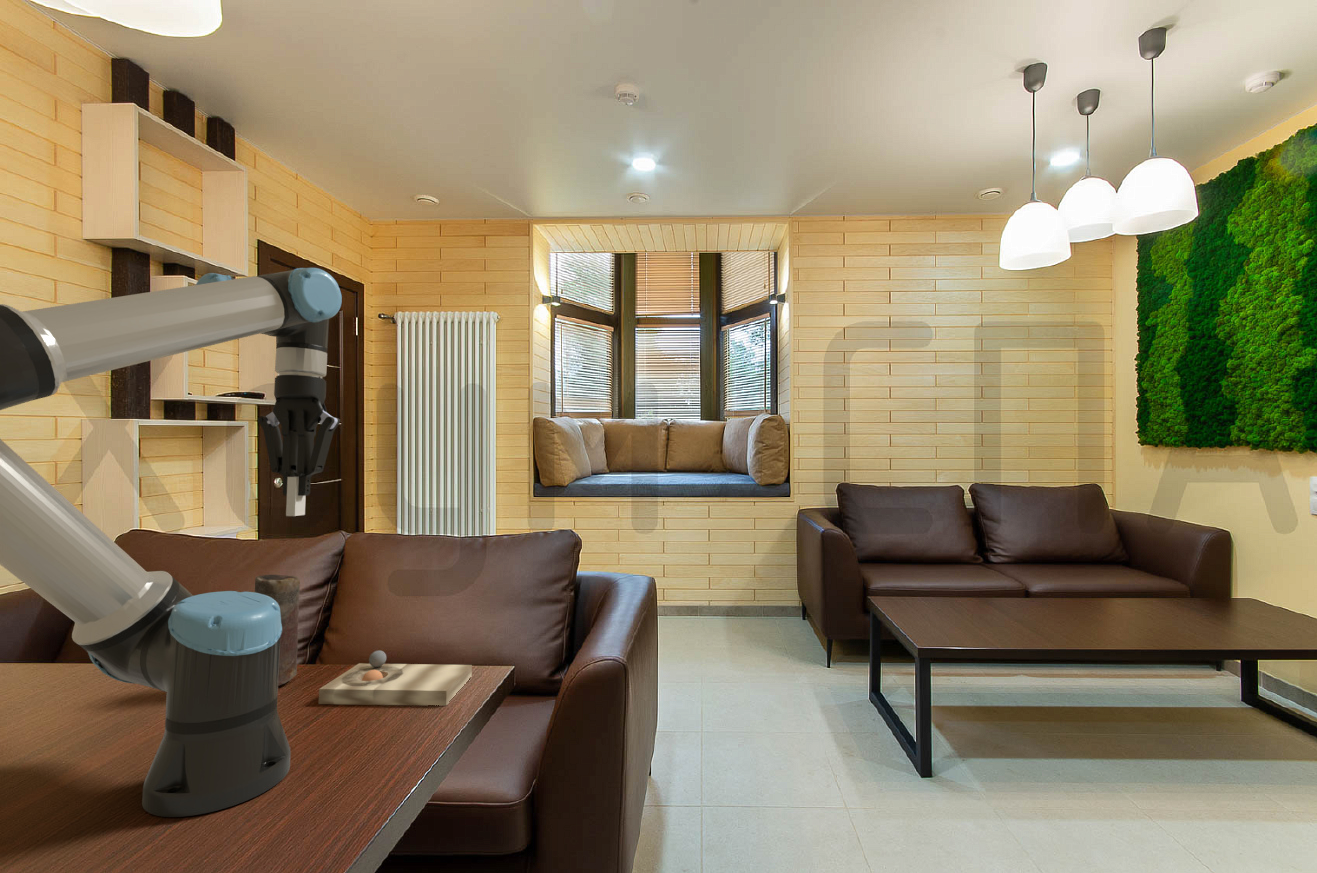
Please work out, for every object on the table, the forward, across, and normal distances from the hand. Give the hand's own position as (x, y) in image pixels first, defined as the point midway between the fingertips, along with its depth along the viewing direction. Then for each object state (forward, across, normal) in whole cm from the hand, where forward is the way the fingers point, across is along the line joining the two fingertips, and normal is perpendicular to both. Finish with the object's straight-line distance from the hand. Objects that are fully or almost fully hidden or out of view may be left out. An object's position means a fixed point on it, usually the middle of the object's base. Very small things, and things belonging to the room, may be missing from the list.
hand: (295, 515), depth 98 cm
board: (+32, -14, -10) cm, 37 cm away
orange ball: (+31, -9, -10) cm, 33 cm away
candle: (+33, +11, -12) cm, 36 cm away
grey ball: (+28, -8, -15) cm, 33 cm away
